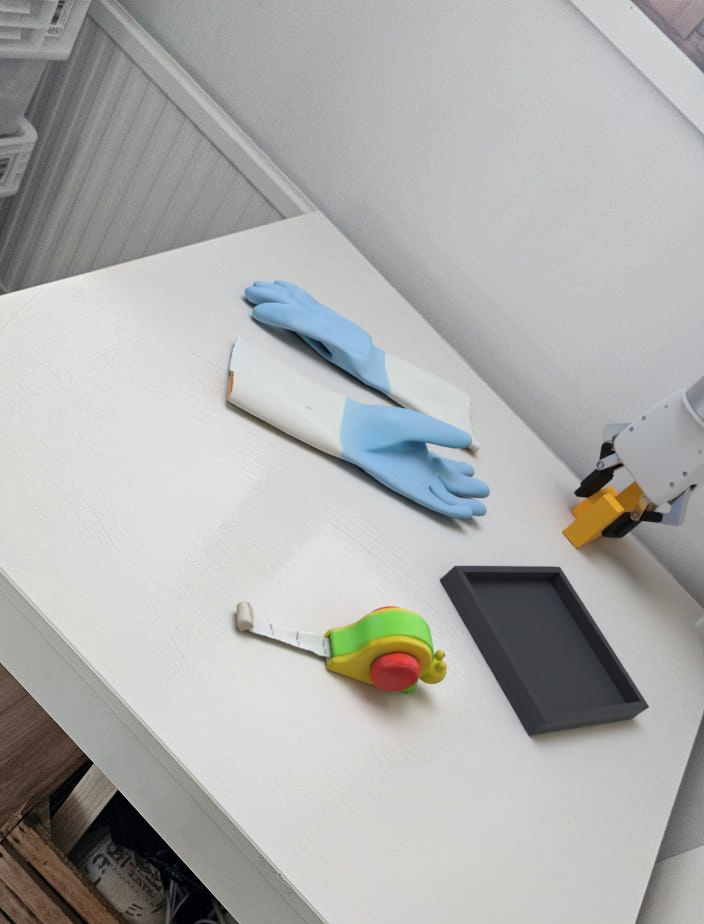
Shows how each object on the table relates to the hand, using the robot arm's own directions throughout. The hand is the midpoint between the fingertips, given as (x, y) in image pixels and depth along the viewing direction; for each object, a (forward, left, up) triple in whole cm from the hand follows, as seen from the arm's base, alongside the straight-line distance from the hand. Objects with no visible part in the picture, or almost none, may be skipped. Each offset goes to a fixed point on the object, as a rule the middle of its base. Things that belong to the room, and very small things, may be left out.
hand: (595, 514), depth 124 cm
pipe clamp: (0, 0, -2) cm, 2 cm away
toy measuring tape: (+52, +16, -2) cm, 54 cm away
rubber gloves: (+29, -16, -2) cm, 33 cm away
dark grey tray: (+24, +17, -2) cm, 29 cm away
